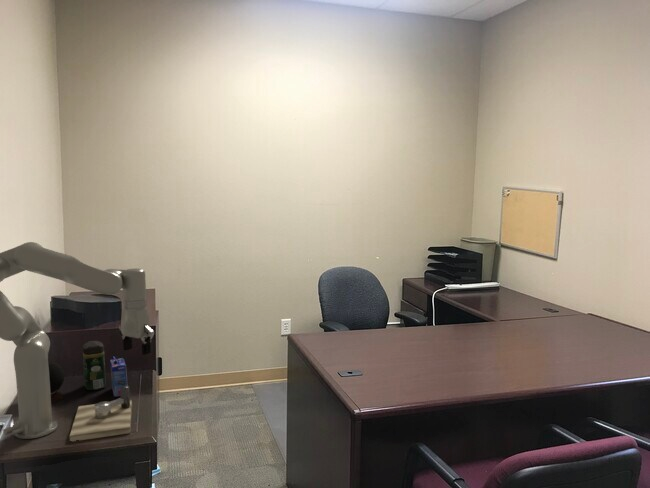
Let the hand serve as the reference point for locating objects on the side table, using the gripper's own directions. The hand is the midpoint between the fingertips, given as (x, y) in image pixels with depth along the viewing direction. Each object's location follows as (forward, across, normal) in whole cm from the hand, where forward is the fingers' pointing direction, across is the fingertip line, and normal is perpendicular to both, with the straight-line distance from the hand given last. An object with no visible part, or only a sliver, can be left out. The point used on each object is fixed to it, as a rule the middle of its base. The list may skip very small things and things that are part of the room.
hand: (137, 351), depth 182 cm
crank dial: (+21, -5, -7) cm, 22 cm away
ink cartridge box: (+23, -24, +10) cm, 35 cm away
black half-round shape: (+23, -42, -10) cm, 49 cm away
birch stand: (+23, -6, -11) cm, 26 cm away
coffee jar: (+23, -37, +8) cm, 44 cm away
